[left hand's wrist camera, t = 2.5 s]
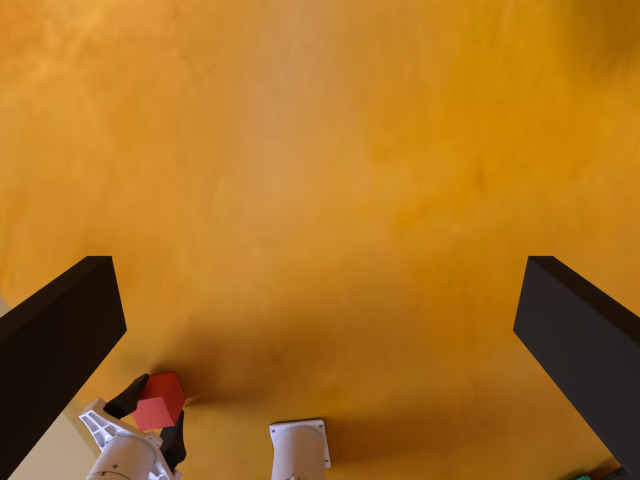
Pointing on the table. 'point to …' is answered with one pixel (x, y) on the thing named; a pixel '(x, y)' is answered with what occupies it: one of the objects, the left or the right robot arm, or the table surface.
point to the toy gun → (612, 475)
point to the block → (159, 402)
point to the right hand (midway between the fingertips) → (160, 396)
